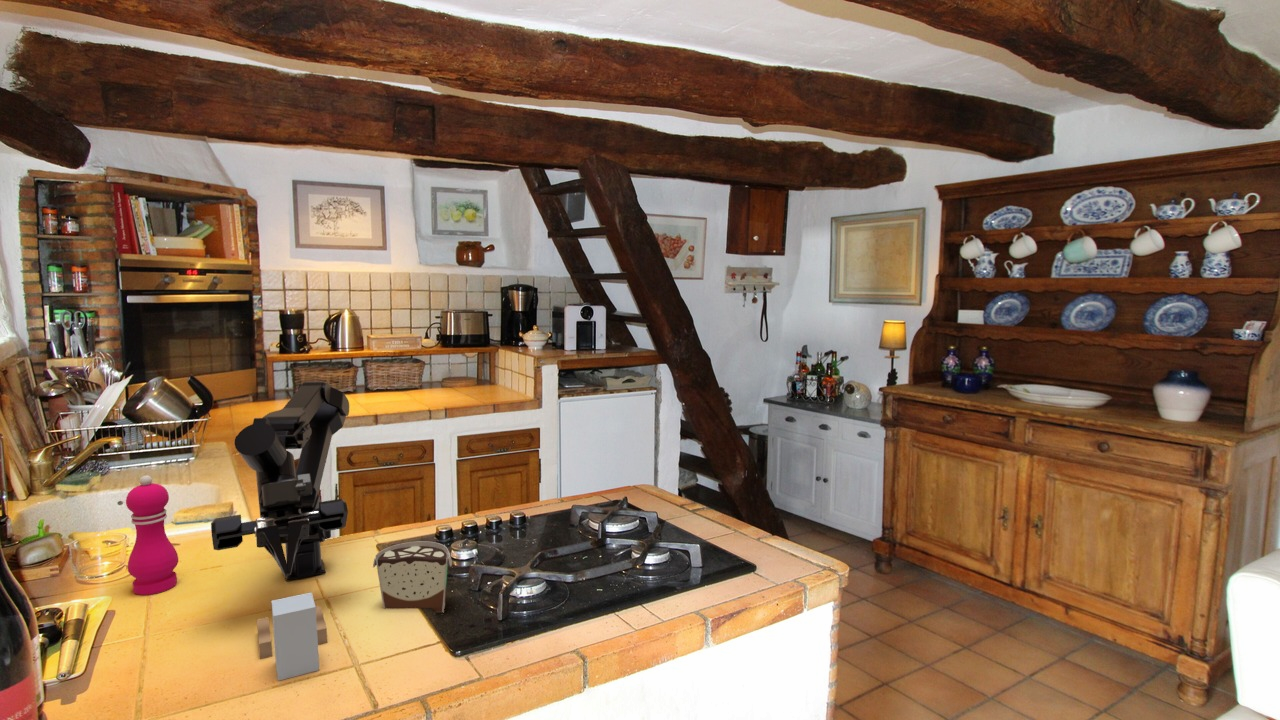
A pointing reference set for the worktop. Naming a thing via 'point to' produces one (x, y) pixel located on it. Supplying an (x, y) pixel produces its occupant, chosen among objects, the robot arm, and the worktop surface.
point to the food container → (413, 575)
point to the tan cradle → (265, 636)
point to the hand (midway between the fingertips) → (287, 574)
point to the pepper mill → (150, 540)
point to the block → (295, 635)
